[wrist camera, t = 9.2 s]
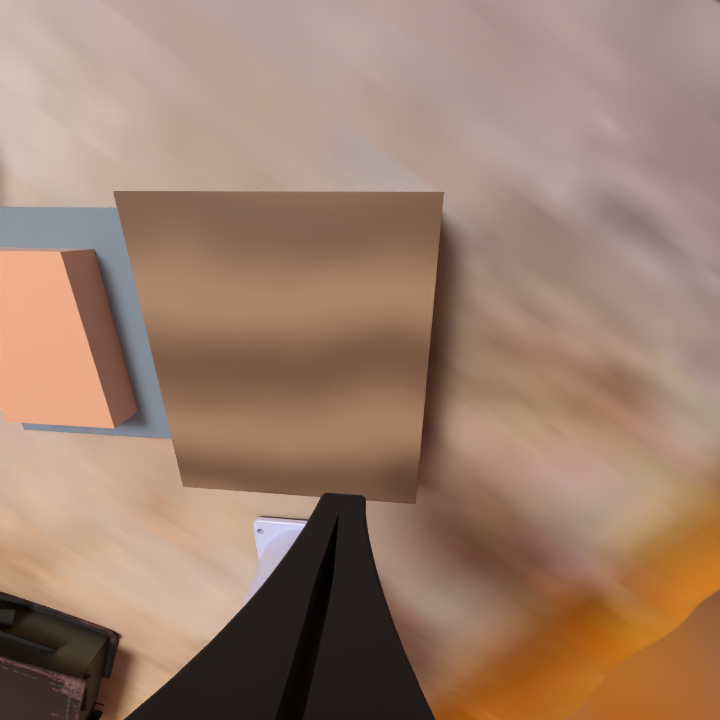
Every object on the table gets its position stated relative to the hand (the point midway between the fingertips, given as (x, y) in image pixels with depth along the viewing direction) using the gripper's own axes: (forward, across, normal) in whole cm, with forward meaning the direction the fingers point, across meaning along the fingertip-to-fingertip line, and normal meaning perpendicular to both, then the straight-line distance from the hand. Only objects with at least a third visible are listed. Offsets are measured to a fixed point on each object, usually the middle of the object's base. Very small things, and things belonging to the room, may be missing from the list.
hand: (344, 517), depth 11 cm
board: (+10, +4, -2) cm, 11 cm away
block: (+8, +18, -2) cm, 20 cm away
